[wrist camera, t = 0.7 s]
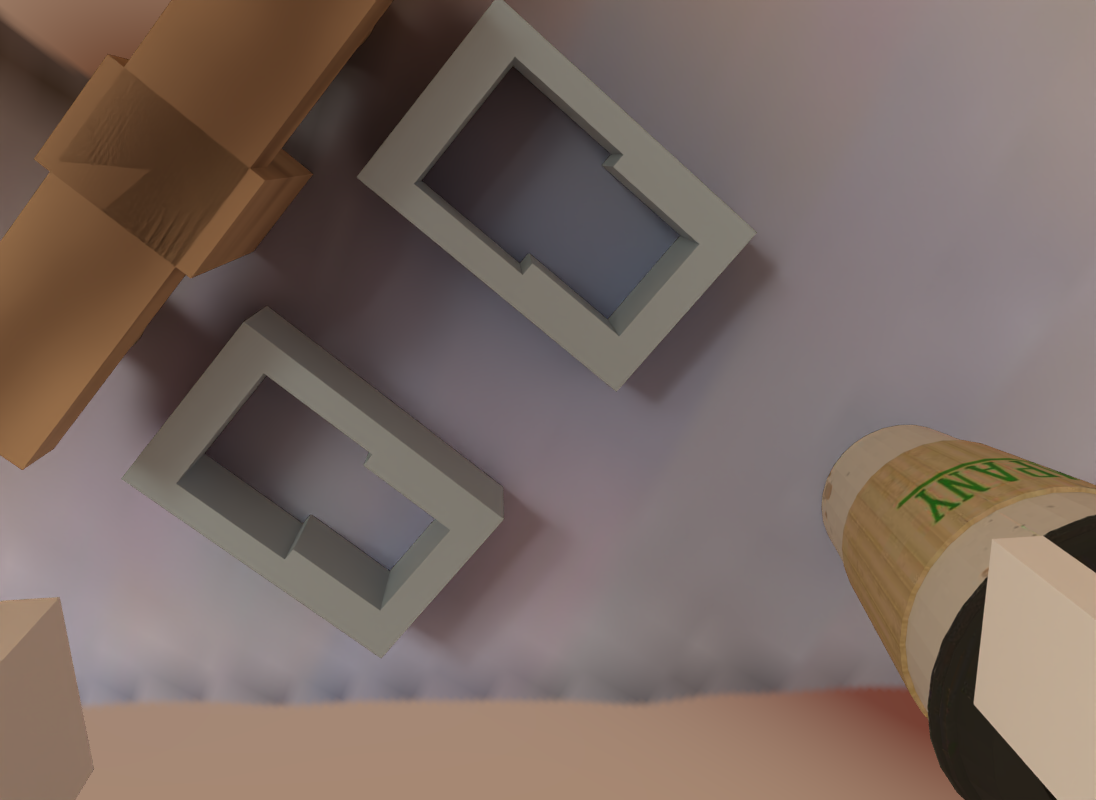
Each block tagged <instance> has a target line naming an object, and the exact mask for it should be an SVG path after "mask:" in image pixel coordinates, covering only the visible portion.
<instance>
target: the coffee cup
mask: <svg viewBox="0 0 1096 800" xmlns="http://www.w3.org/2000/svg"><path fill="white" fill-rule="evenodd" d="M822 516H823V522H824V525H825V528H826V531H827V534H828V536H829V538H830V539H831V541H832V543H833V545H834V546H835V548H836V550H837V552H838V554H839V555H840V557H841V559H842V561H843V562H844V567H845V570H846V573H847V576H848V578H849V581H850V583H851V585H852V587H853V589H854V591H855V593H856V594H857V596H858V598H859V600H860V602H861V604H862V606H863V607H864V609H865V611H866V613H867V615H868V617H869V618H870V620H871V622H872V624H873V626H874V628H875V630H876V631H877V633H878V635H879V637H880V639H881V641H882V642H883V644H884V646H885V648H886V650H887V652H888V654H889V655H890V657H891V659H892V661H893V663H894V665H895V667H896V668H897V670H898V672H899V674H900V676H901V678H902V679H903V681H904V683H905V685H906V687H907V689H908V691H909V692H910V694H911V696H912V697H913V699H914V700H915V702H916V704H917V705H918V706H919V708H920V710H921V711H922V713H923V714H924V716H926V717H927V718H928V720H929V730H930V739H931V742H932V744H933V747H934V750H935V753H936V756H937V759H938V761H939V764H940V767H941V769H942V770H943V772H944V773H945V775H946V776H947V778H948V779H949V781H950V782H951V784H952V785H953V787H954V789H955V790H956V792H957V793H958V794H959V795H960V796H961V797H963V798H964V799H965V800H1057V799H1056V798H1055V797H1054V795H1053V794H1052V793H1051V792H1050V791H1049V790H1048V789H1047V787H1046V786H1045V785H1044V784H1043V783H1042V782H1041V781H1040V779H1039V778H1038V777H1037V776H1036V775H1035V774H1034V773H1033V771H1032V770H1031V769H1030V768H1029V767H1028V766H1027V765H1026V763H1025V762H1024V761H1023V760H1022V759H1021V758H1020V757H1019V755H1018V754H1017V753H1016V752H1015V751H1014V750H1013V749H1012V747H1011V746H1010V745H1009V744H1008V743H1007V742H1006V741H1005V739H1004V738H1003V737H1002V736H1001V735H1000V734H999V733H998V731H997V730H996V729H995V728H994V727H993V726H992V725H991V723H990V722H989V721H988V720H987V719H986V718H985V717H984V715H983V714H982V713H981V712H980V711H979V710H978V709H977V707H976V706H975V705H974V695H975V686H976V678H977V669H978V660H979V651H980V642H981V633H982V624H983V615H984V606H985V597H986V589H987V580H988V571H989V562H990V553H991V544H992V539H1000V538H1016V537H1032V536H1044V537H1045V538H1047V539H1048V540H1050V541H1051V542H1052V543H1054V544H1055V545H1057V546H1058V547H1060V548H1061V549H1062V550H1064V551H1065V552H1067V553H1068V554H1069V555H1071V556H1072V557H1074V558H1075V559H1077V560H1078V561H1079V562H1081V563H1082V564H1084V565H1085V566H1086V567H1088V568H1089V569H1091V570H1092V571H1094V572H1095V573H1096V485H1093V484H1091V483H1088V482H1085V481H1083V480H1080V479H1077V478H1074V477H1072V476H1069V475H1066V474H1063V473H1061V472H1058V471H1055V470H1052V469H1050V468H1047V467H1044V466H1041V465H1039V464H1036V463H1033V462H1031V461H1028V460H1025V459H1022V458H1020V457H1017V456H1014V455H1011V454H1009V453H1006V452H1003V451H1000V450H998V449H995V448H992V447H990V446H987V445H984V444H981V443H976V442H970V441H965V440H959V439H957V438H954V437H951V436H949V435H946V434H944V433H941V432H938V431H936V430H933V429H930V428H928V427H922V426H917V425H897V426H892V427H887V428H883V429H880V430H878V431H875V432H873V433H870V434H868V435H866V436H865V437H863V438H862V439H860V440H859V441H857V442H855V443H854V444H853V445H852V446H851V447H850V448H849V449H848V450H846V451H845V452H844V453H843V454H842V456H841V457H840V458H839V460H838V461H837V462H836V464H835V465H834V466H833V468H832V470H831V472H830V474H829V476H828V478H827V480H826V484H825V487H824V491H823V496H822Z"/></svg>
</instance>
